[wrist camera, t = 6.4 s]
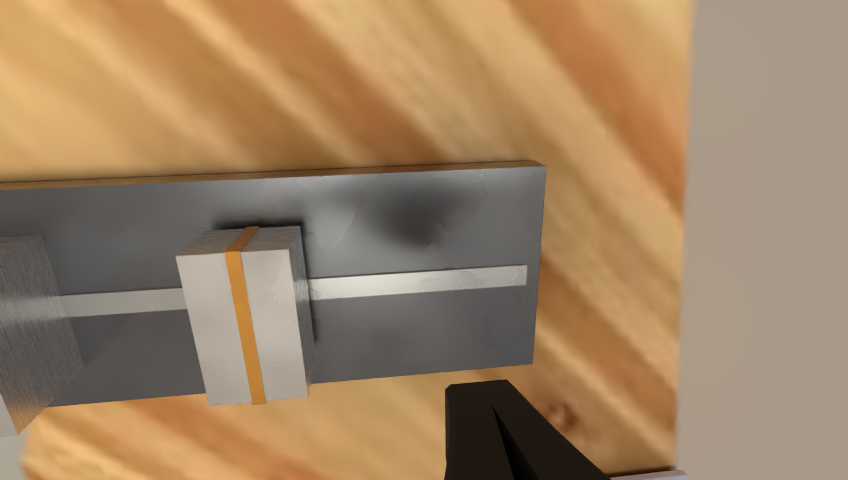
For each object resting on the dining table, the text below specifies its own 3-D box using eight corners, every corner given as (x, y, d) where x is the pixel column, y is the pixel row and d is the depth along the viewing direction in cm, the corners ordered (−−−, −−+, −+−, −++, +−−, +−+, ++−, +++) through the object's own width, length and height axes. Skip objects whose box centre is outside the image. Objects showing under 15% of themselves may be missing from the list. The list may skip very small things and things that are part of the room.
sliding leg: (316, 357, 16) (308, 399, 14) (231, 364, 16) (209, 408, 14) (300, 224, 14) (287, 248, 12) (204, 229, 14) (174, 255, 12)
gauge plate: (523, 347, 19) (610, 498, 12) (-40, 395, 17) (-328, 613, 10) (534, 160, 16) (654, 216, 9) (-133, 189, 14) (-617, 289, 7)
